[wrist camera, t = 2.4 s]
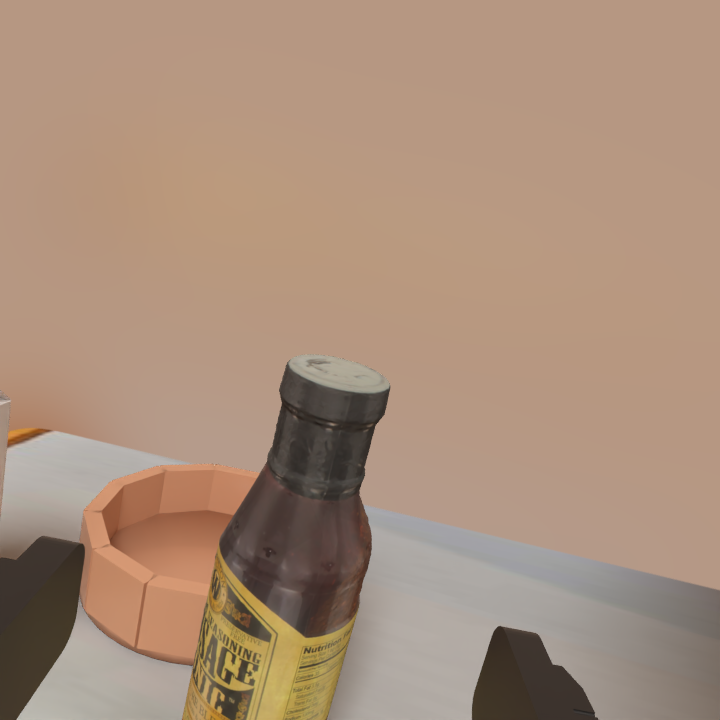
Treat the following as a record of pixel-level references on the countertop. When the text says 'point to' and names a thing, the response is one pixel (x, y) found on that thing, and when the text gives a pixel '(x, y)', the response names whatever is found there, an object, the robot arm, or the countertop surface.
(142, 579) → the terracotta bowl
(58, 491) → the countertop surface
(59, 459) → the countertop surface
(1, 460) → the milk carton
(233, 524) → the sauce bottle
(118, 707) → the countertop surface
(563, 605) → the countertop surface
